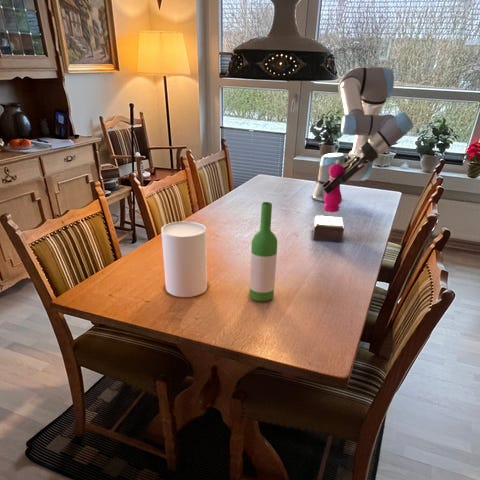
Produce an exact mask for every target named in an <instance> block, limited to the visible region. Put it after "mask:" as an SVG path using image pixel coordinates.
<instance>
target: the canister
mask: <svg viewBox="0 0 480 480" xmlns="http://www.w3.org/2000/svg"><path fill="white" fill-rule="evenodd" d="M160 232H161V243H162V256H163V269H164V281H165V290H166V292H167V293H168V294H170V295H172V296H175V297H179V298H192V297H196V296H200V295H202V294H203V293H205V292H206V291H207V290H208V261H207V260H208V255H207V253H208V251H207V250H208V249H207V227H206V226H205V225H204V224H202V223H200V222H195V221H188V220H184V221H181V220H180V221H173V222H169V223H166V224H164V225H163V226H162V227H161V231H160Z"/></svg>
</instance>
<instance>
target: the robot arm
mask: <svg viewBox="0 0 480 480" xmlns="http://www.w3.org/2000/svg"><path fill="white" fill-rule="evenodd" d="M394 87H395V74H394V71H393V69H392V68H391V67H384V66H382V67H381V66H377V67H376V66H356V67H353V68H351V69H349V70H348V71H347V72H345V73H344V74H343V76H342V77H340V80H339V83H338V89H337V90H338V95H339V97H340V98H341V99H342V105H343V110H344V114H343V116H342V119H341V124H340V125H341V126H340V132H341V134H342V135H347V136H355V137H354V142H353V146H352V150H350V151H349V152H348V154H347V156H345V155H344V153H341V152H331V153H325V154H324V155H322V156H321V158H320V162H319V169H318V170H319V171H318V176H316V177H315V182H316V183H317V184H316V186H315V189H314V191H313V193H312V199H313V200H315V201H318V202H321V203H322V202H323V203H325V202H324V196H325V194H326V193H327V194H329V193H330V192H331V191H332V190H333V189H335V188H336V187H337V186H338V185H339V184H340V185H341V184H345V183H346V182H347V181H357V182H361V181H366V180H368V179H369V177H370V175H371V174H372V170H373V165H374V161H375V160H376V159H378V158H379V156H382V155H383V153H387V152H388V151H387V150H389V149H390V148H391V147H392V146H393V145H394V144H396V143H398V141H400V140H401V139H402V138H403V137H404V136H405V135H407V134H408V133H410V131H411V130H412V129H413V128H414V123H413V121H412V119H411V118H410V116H409V115H408V114H407V113H406V112H404V111H400V112H399V113H398V114H395V115H393V114H384V115H383V114H380V112H381V108H382V106H383V105H384V104H386V102H387V99H389V98H391V97H392V96H393V91H394ZM337 160H340V164H341V165H343V167H344V169H345V171H344V172H343V173H342V174H341V175H340V176H339V177H338V176H336V178H335V179H334V180H333V181H332V182H331V183H330V180H329V179H330V176H331V175H330V173H329V169H330V167H331V166H332V165H333V164H336V161H337Z"/></svg>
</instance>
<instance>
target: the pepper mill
mask: <svg viewBox="0 0 480 480" xmlns="http://www.w3.org/2000/svg"><path fill="white" fill-rule="evenodd" d="M344 171H345V169H344V167H343V165H341V164H340V160H337V161H336V164H333V165H332V166H331V167H330V169H329V173H330V175H331V176H330V179H329V180H330V183H331V182H332V181H333V180H334V179H335V178H336V176H338V177H339V176H340V175H341V174H342V173H343V172H344ZM342 200H343V198H342V192H341V184H339V185H338V186H337V187H336V188H335V189H333V190H332V191H331V192H330V193H329V194H327V193H326V194H325V196H324V202H323V203H324V205H323V210H324V212H327V213H337V212H339V211H340V204H341V203H342Z"/></svg>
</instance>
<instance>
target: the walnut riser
mask: <svg viewBox="0 0 480 480" xmlns="http://www.w3.org/2000/svg"><path fill="white" fill-rule="evenodd" d="M312 232H313V234H312V235H313V236H312V240H313V241H320V242H321V241H322V242H331V243H343V238H344V233H345V225H344V219H343V217H339V216H325V215H316V216H315V217H314V223H313V231H312Z"/></svg>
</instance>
